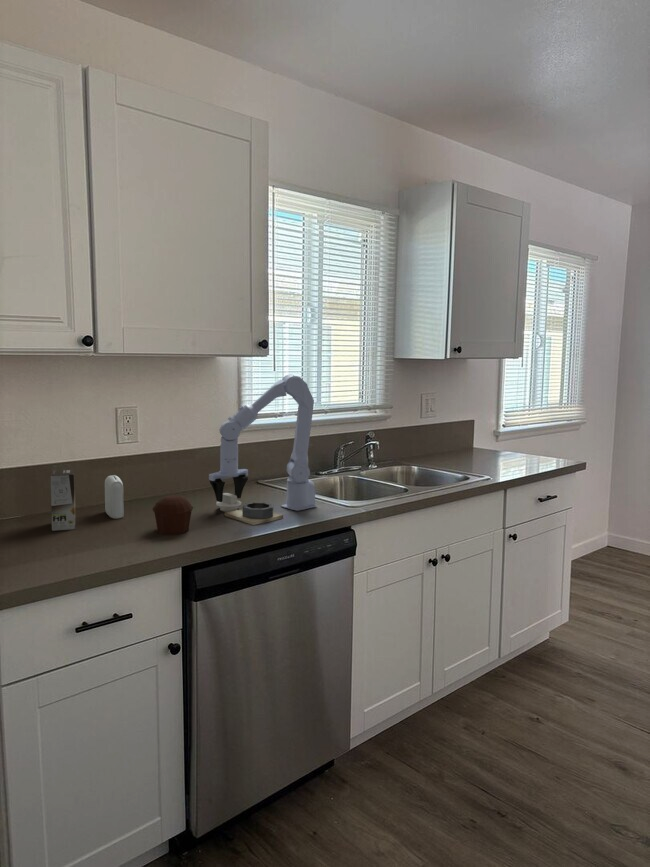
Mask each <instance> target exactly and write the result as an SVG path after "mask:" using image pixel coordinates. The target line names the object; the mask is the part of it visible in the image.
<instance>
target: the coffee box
mask: <svg viewBox="0 0 650 867" xmlns="http://www.w3.org/2000/svg"><path fill="white" fill-rule="evenodd" d="M49 476H50V478H49V479H50V507H51V508H50V512H51V531H54V532H55V531H66V530H67V531H68V530H69V531H70V530H75V528H76V486H75V485H76V481H75V480H76V479H75V469H74V468H58V469H51V471H50V474H49Z"/></svg>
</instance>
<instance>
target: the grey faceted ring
mask: <svg viewBox="0 0 650 867" xmlns="http://www.w3.org/2000/svg"><path fill="white" fill-rule="evenodd" d="M242 509H243V517H246V518H249V519H266V518H271V517H273V512H274V504H272V503H269V502H264V501H263V502H262V501H260V502H259V501H252V502H248V503H243V506H242Z"/></svg>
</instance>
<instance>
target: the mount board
mask: <svg viewBox="0 0 650 867" xmlns="http://www.w3.org/2000/svg"><path fill="white" fill-rule="evenodd" d="M224 516H225V517H228V518H231V519H233V520H236V521H240V522H243V523H246V524H249V525H252V526H255V525H259V524H265V523H268V522H273V521H277V520H282V519H284V514H281V513H277V512H274V511H273V517H271V518H266V519H249V518H246V517H243V508H241V509H237V510H236V511H231V512H224Z"/></svg>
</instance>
